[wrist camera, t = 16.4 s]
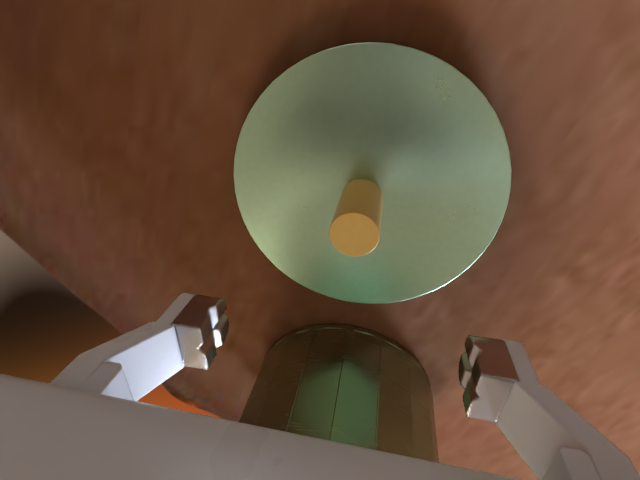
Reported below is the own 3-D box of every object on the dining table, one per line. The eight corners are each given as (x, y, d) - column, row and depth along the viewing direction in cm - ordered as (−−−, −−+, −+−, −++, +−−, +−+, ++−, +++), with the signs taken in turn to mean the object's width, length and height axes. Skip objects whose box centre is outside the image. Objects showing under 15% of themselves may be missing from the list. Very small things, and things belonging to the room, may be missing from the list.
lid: (406, -42, 16) (411, -77, 11) (555, 223, 20) (605, 282, 15) (192, 160, 22) (136, 194, 18) (338, 323, 27) (326, 385, 22)
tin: (363, 295, 25) (340, 469, 15) (463, 415, 30) (499, 613, 19) (231, 359, 32) (152, 511, 22) (329, 450, 36) (303, 612, 26)
